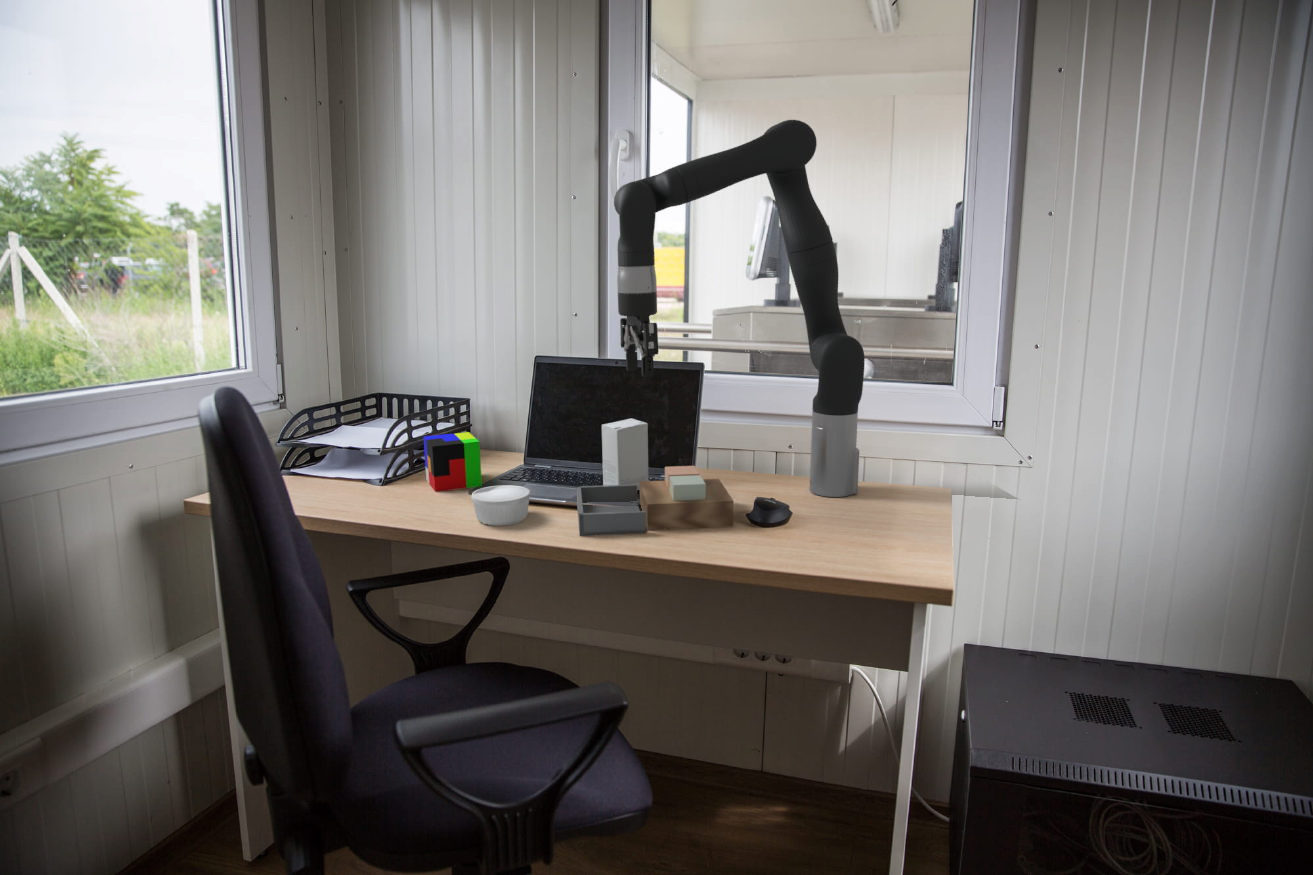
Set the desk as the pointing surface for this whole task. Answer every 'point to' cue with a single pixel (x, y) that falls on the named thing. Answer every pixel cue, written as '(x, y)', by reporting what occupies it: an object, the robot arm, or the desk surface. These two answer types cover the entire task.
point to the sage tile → (687, 487)
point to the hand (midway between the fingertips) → (639, 373)
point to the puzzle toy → (452, 461)
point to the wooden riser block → (686, 507)
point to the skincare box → (625, 452)
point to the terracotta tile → (679, 472)
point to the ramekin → (501, 504)
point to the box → (609, 511)
